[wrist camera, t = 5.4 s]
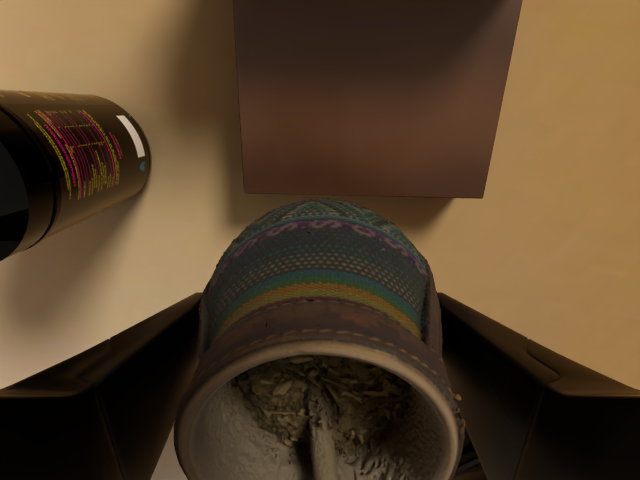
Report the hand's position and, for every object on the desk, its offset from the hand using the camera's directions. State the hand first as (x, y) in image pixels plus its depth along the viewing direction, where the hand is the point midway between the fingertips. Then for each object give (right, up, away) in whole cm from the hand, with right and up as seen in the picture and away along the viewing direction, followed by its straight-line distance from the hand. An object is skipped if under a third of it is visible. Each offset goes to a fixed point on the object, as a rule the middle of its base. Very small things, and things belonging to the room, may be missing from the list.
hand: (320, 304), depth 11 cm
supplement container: (-14, +8, +11) cm, 19 cm away
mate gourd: (0, +1, +3) cm, 3 cm away
